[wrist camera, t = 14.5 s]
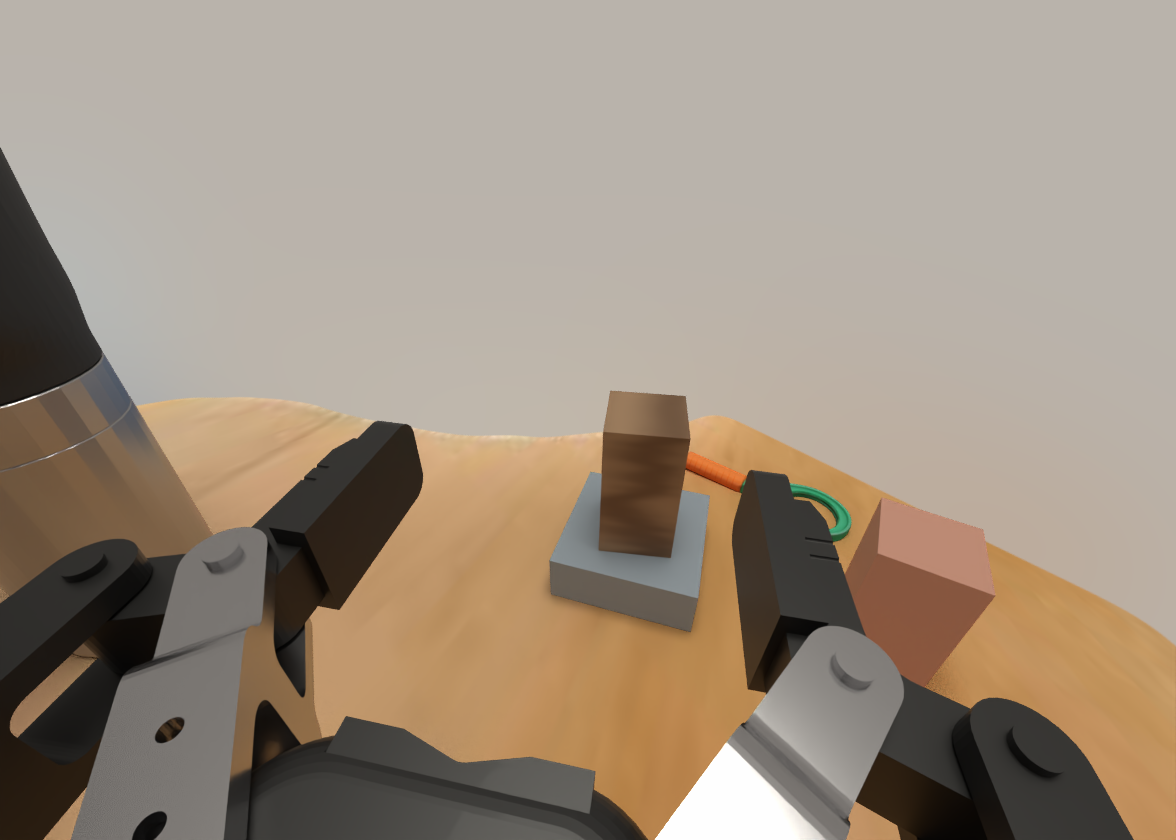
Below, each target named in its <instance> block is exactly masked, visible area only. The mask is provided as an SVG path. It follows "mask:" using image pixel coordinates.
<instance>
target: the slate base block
mask: <svg viewBox="0 0 1176 840" xmlns="http://www.w3.org/2000/svg"><path fill="white" fill-rule="evenodd" d="M601 477H602V474H599V473H594V472H590V474H589V477H588V479H587V481H586V483H585V485H584V487H583V490H582V492H581V494H580V496H579V498H578V500H577V502H576V505H575V507H574V509H573V511H572V513H571V515H570V518H569V520H568V522H567V524H566V526H565V528H564V530H563V533H562V535H561V537H560V539H559V541H558V543H557V546H556V548H555V550H554V552H553V554H552V556H551V558H550V583H551V594H552V595H556V596H559V597H563V598H567V599H571V600H574V601H578V602H582V603H585V604H589V605H593V606H596V607H600V608H604V609H607V610H611V611H615V612H618V613H622V614H626V615H629V616H633V617H637V618H640V619H644V620H648V621H651V622H655V623H659V624H662V625H666V626H670V627H673V628H677V629H681V630H685V631H688V632H691V628H692V623H693V619H694V615H695V610H696V606H697V601H698V596H699V587H700V578H701V569H702V560H703V551H704V542H705V533H706V524H707V515H708V506H709V497H710V496H709V495H704V494H699V493H694V492H689V491H684V490H682V493H681V499H680V505H679V511H678V517H677V524H676V530H675V536H674V542H673V548H672V554H671V558H664V557H655V556H645V555H636V554H626V553H617V552H608V551H599V527H600V502H601Z"/></svg>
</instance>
